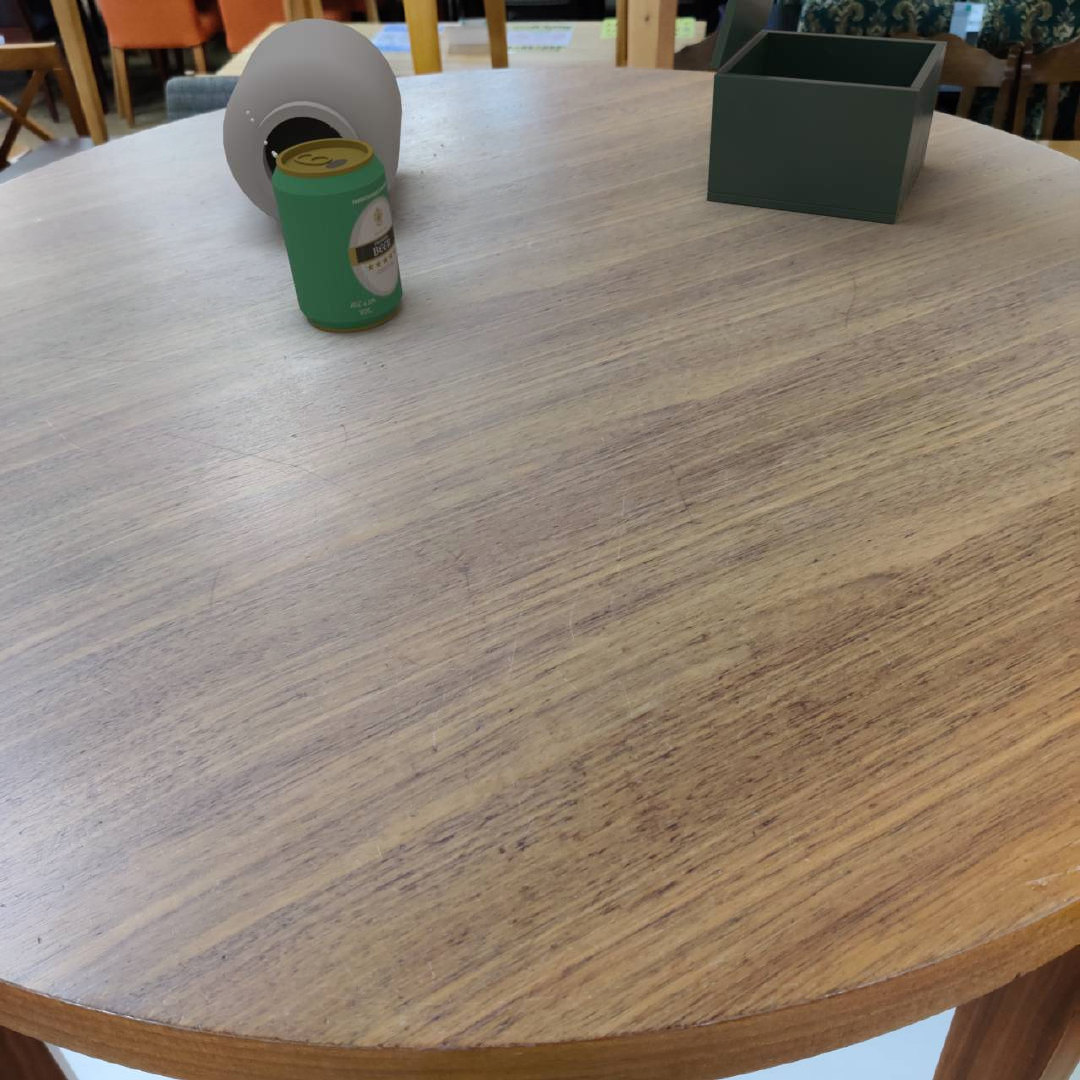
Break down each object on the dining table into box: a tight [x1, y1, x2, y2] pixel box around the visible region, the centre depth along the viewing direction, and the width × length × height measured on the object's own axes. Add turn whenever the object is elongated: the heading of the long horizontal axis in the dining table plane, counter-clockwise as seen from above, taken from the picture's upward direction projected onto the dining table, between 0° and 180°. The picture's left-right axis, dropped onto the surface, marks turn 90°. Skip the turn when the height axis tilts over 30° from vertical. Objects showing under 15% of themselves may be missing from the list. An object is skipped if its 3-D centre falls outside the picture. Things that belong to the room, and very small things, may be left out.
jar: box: [222, 17, 445, 222], centre depth 88 cm, size 19×15×25 cm
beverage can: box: [272, 138, 404, 333], centre depth 75 cm, size 8×8×12 cm
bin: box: [706, 29, 948, 225], centre depth 91 cm, size 17×15×11 cm
